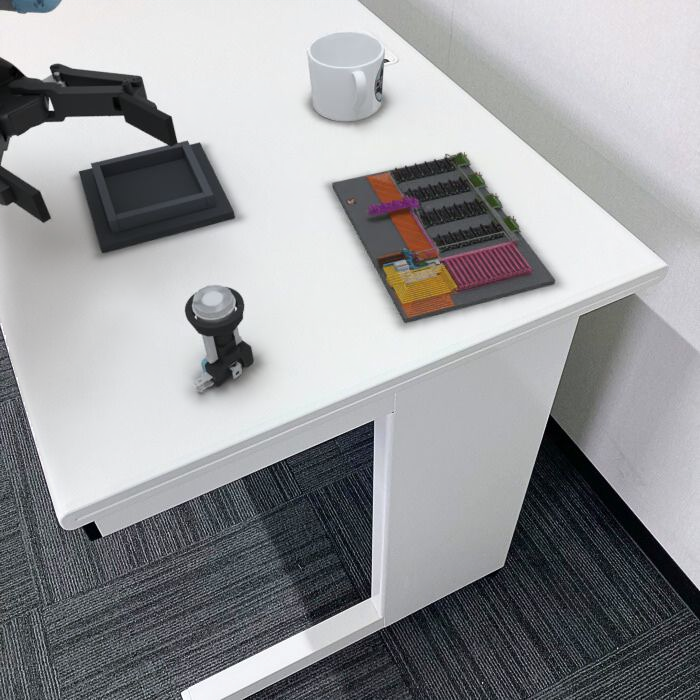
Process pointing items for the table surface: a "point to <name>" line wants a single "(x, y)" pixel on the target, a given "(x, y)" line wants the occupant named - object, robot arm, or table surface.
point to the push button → (219, 333)
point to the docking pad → (153, 195)
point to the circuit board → (439, 237)
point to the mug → (346, 75)
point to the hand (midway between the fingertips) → (110, 167)
